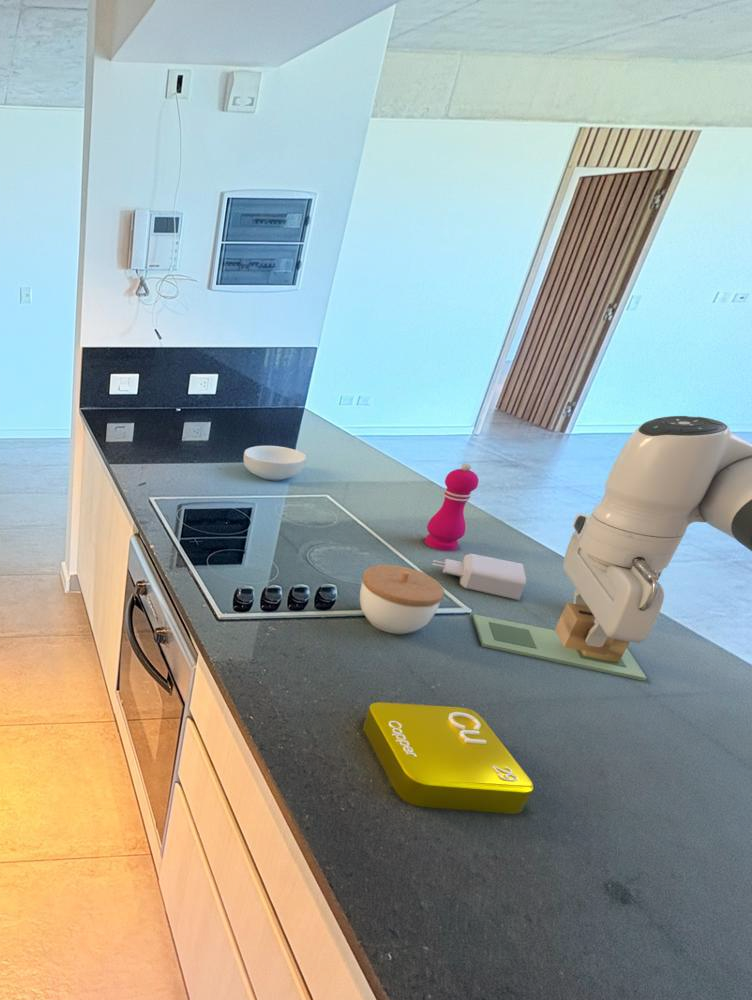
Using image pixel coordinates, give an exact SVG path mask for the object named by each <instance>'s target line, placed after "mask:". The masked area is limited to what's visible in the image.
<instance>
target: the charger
mask: <svg viewBox="0 0 752 1000" xmlns="http://www.w3.org/2000/svg"><path fill="white" fill-rule="evenodd" d="M432 562H433V563H432V566H434V567H438V568H442V573H443V574H447V575H451V576H457V577H459V585H460V586H461V587H463V588H464V589H467V590H471V591H476V592H480V593H485V594H490V595H492V596H498V597H502V598H505V599H511V600H514V601H515V600H516V601H519V600H520V599H521V597H522V594H523V591H524V589H525V588H526V587H525V586H526V583H527V577H526V572H525V568H524V564H523V563H520V562H516V561H511V560H510V561H509V560H506V559H500V558H495V557H490V556H485V555H481V554H477V553H467V554H465V555H464V557H463V560H462V561H459V560H455V559H450V558H445V559H444V561H440V560H435V559H433V560H432Z"/></svg>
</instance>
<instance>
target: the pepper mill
mask: <svg viewBox="0 0 752 1000" xmlns="http://www.w3.org/2000/svg"><path fill="white" fill-rule="evenodd" d="M471 469H472V464H471V463H470V462H469V463H468V462H464V463H463V464H462V465H461V467H460V468H457V469H454V470H451V471H450V472H448V474H447V475H446V476H445V480H444V484H445V486H446V488H445V489H444V492H443V494H442V495H443V496H444V499H443V502H442V505H441V506H440V508H439V510H437V512H436V513H435V514H433V516H432V517H431V518H430V519H429V521H428V523H427V525H426V530H427V532H428V534H427V535H426V537H425V540H424V544H426V545H427V546H428V547H430V548H431V549H436V550H438V551H442V552H443V551H445V552H453V551H456V550H457V549H458V546H459V540H460V539H462V538H463V537H464V536H465V534H466V521H465V515H464V510H465V506H466V504H467V502H468V501H470V500H471V496H473V495H472V492H473V491H475V490H476V489H477V488H478V486H479V476H478V474H476V473H475V472H474V471H472V470H471Z"/></svg>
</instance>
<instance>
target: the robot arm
mask: <svg viewBox="0 0 752 1000" xmlns="http://www.w3.org/2000/svg"><path fill="white" fill-rule="evenodd" d="M603 494H604V495H603V496H602V499H601V500H600V501H599V503H597V504H596V505H595V507H594V508H593V510H592V512H591V513H580V512H579V513H577V514H576V516H575V518H574V520H573V524H572V526H573V528H574V531H573V533H572V535H571V537H570V540H569V543H568V545H567V548H566V550H565V554H564V557H563V564H562V565H563V571H564V573H565V574H566V575H567V577H568V579H569V580H570V582H571V583H572V585H573V587H574V588H575V590H574V593H573V594H574V595H573V604H577V605H583V606H588V608H589V609H590V611H591V612H592V614H593V615H594V617H595V620H594V623H595V625H594V626H593V627H592V628H591V629H587V630H586V633H585V635H584V637H583V638H584V640H585V642H586V644H587V645H589V646H594V647H602V646H603V645H604V643H605V641H606V639H607V637H610V638H613V639H618V640H623V641H628V642H629V643H634V644H635V643H636V644H640V643H642V642H644V641H646V640H648V638H649V637H650V635H651V633H652V631H653V628H654V626H655V624H656V621H657V619H658V617H659V614H660V611H661V609H662V606H663V604H664V600H665V591H664V587H663V586H662V584H660V582H659V579H660V577H658V574H657V573H656V572H655V571H653V570H661V569H663V570H665V569H667V567H668V566H669V564H670V563H671V560H672V559H673V556H674V555H675V553H676V551H677V549H678V547H679V546H680V543H681V541H682V540H683V538H684V536H685V534H686V531H687V528H688V527H689V526H690V524H692V523H706V524H708V525H709V526H711V527H712V528H714V529H716V530H717V531H720V532H722V533H724V534H725V535H727V536H729V537H731V538H733V539H735V540H736V541H737V542H738V543H739V544H741V545H742V546H744V547H745V548H747V549H748V550H749V551H750V552H752V443H750V442H748V441H747V440H745V439H743V438H741V437H739V436H738V435H736V434H735V433H734V432H732V431H731V430H730V428H729V427H728V425H727V424H725V423H724V422H722V421H720V420H718V419H713V418H709V417H703V416H689V415H671V416H661V417H658V418H657V417H656V418H654V419H651V420H648V421H645V422H643V423H642V424H640V425H639V426H638V427H637V428H636V429H635V430H634V431H633V432H632V433H631V434H630V436H629V437H628V438H627V440H626V441H625V443H624V444H623V446H622V447H621V449H620V451H619V453H618V455H617V456H616V458H615V460H614V463H613V465H612V467H611V469H610V471H609V472H608V475H607V478H606V480H605V484H604V493H603ZM657 580H658V581H657Z"/></svg>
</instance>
